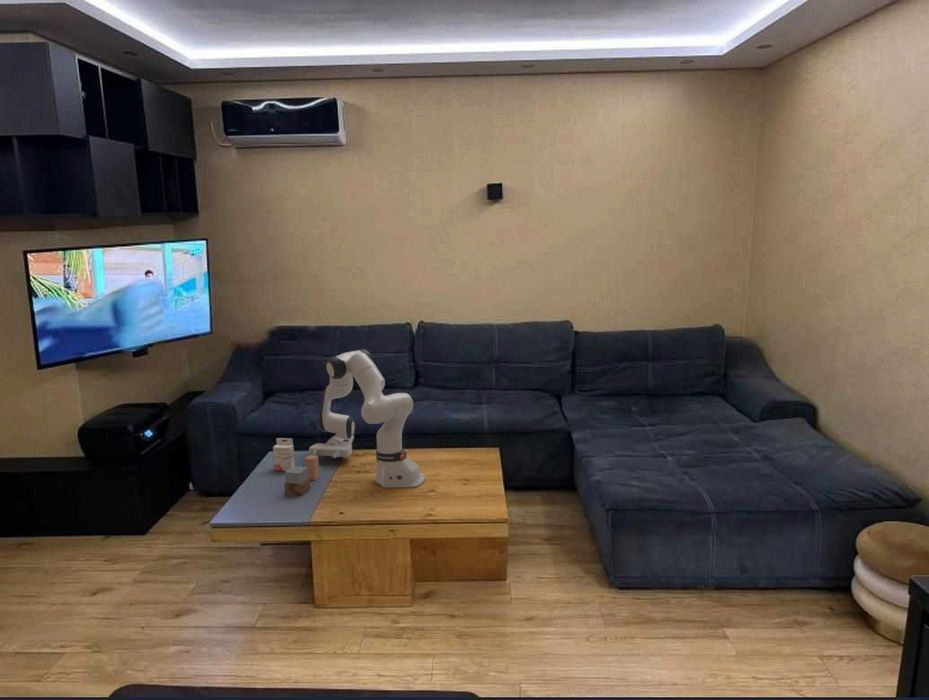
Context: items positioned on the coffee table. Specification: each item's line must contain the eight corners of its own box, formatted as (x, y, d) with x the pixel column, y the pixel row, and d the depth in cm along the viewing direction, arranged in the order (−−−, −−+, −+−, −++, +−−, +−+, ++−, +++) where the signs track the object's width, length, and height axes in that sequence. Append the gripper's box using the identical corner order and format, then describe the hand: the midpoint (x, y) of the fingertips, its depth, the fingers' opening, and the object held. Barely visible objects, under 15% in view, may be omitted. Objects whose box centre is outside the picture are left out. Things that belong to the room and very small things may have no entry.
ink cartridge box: (274, 470, 314) (271, 441, 311) (277, 467, 319) (275, 437, 316) (291, 471, 313) (289, 441, 310) (295, 467, 318) (293, 437, 315)
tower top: (308, 478, 292) (307, 467, 291) (300, 484, 285) (299, 473, 284) (293, 476, 294) (292, 466, 293) (285, 483, 287) (284, 472, 286)
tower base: (310, 488, 293) (309, 477, 292) (302, 495, 286) (301, 484, 285) (293, 487, 295) (293, 476, 294) (285, 494, 288) (284, 483, 287)
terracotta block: (319, 476, 306) (318, 455, 304) (315, 480, 302) (313, 459, 300) (310, 475, 307) (309, 455, 305) (306, 479, 303) (304, 458, 301)
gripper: (315, 438, 331) (303, 448, 318) (354, 441, 327) (343, 450, 313) (316, 451, 332) (303, 460, 319) (354, 453, 328) (344, 463, 315)
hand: (323, 456), depth 316 cm, fingers open, 8 cm apart
